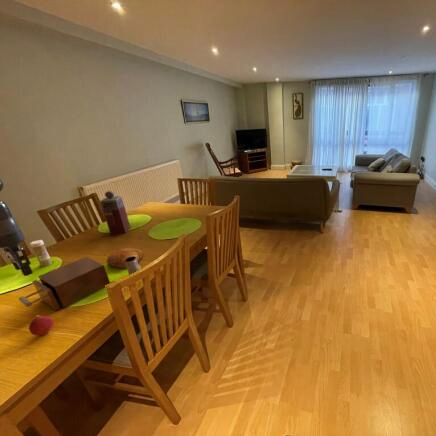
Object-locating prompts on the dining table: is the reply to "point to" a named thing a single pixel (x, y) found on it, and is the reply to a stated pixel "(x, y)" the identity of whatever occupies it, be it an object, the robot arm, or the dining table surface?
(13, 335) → the dining table surface
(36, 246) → the sprinkles bottle
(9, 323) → the dining table surface
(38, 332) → the onion
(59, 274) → the cabinet
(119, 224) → the maroon canister
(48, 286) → the drawer
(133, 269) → the planter
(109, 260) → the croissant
